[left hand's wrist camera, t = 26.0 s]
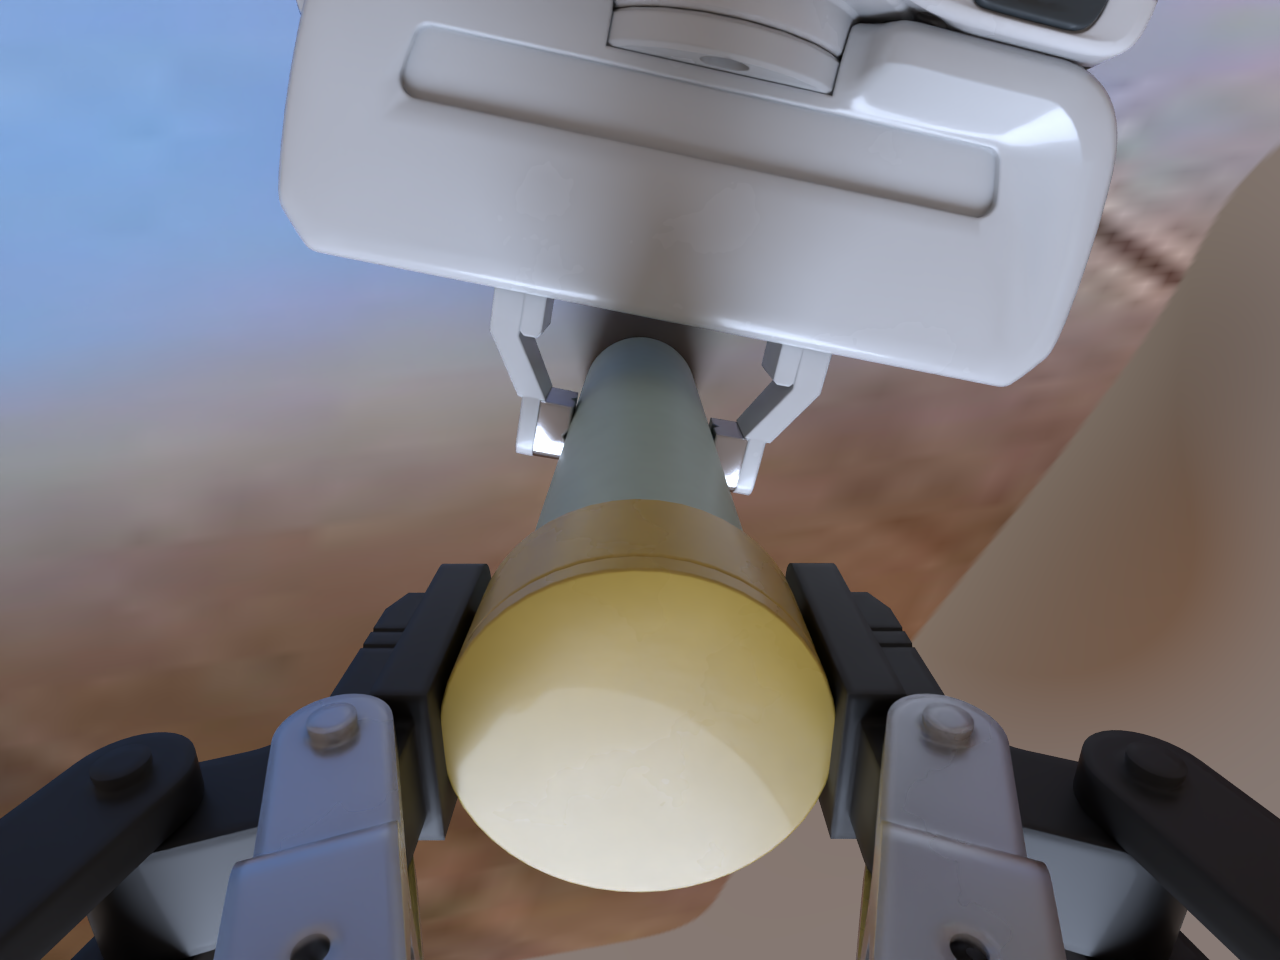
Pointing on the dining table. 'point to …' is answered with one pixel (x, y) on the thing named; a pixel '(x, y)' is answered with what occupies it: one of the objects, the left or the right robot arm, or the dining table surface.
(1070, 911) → the left robot arm
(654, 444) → the mint green cylinder
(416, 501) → the dining table surface
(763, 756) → the lid
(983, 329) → the right robot arm
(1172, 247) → the dining table surface
